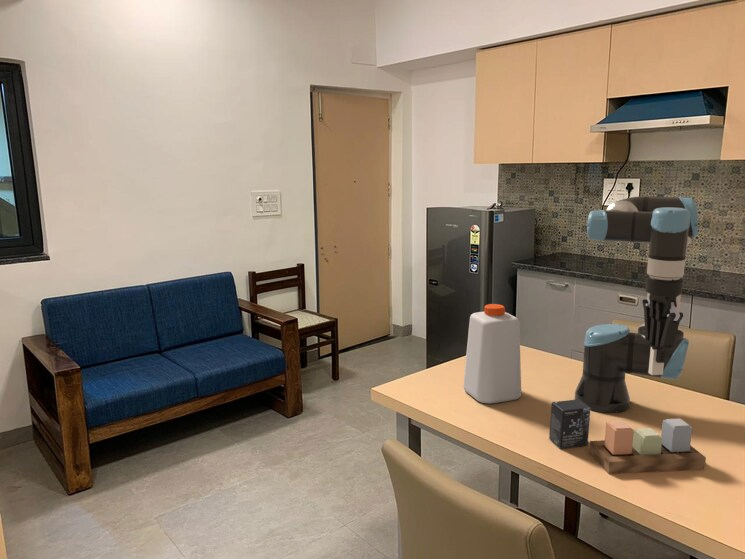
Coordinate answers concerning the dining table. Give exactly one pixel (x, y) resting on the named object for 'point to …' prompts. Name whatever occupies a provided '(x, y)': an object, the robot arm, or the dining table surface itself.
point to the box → (569, 423)
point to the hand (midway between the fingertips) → (655, 373)
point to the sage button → (647, 441)
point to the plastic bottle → (493, 356)
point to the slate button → (676, 435)
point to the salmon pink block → (618, 437)
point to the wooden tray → (646, 460)
